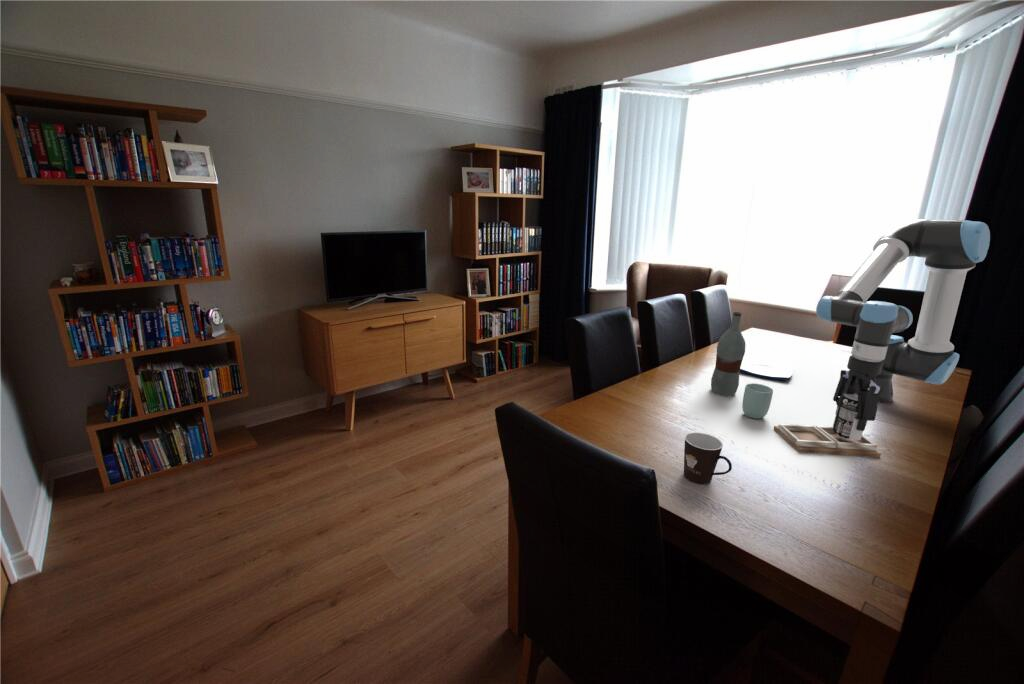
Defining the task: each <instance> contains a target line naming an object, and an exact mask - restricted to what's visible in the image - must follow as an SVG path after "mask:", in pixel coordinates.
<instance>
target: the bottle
mask: <svg viewBox="0 0 1024 684" xmlns="http://www.w3.org/2000/svg"><path fill="white" fill-rule="evenodd" d="M732 314H733V315H732V318H731V324H730V327H729V328H728V329H727V330H726V331H725V332H724V333H723V334H722V335H721V336H720V338H719V340H718V342H717V346H716V355H715V367H714V370H713V373H712V377H711V379H710V389H711V392H712V393H713V394H716V395H719V396H723V397H734V396H735V395H736V393H737V391H738V390H739V388H738V387H739V385H740V372H741V371H740V367H741V364H742V360H743V357H745V354H746V341H745V338H744V336H743V333H742V332H741V329H740V323H741V317H742V312H740V311H733V313H732Z"/></svg>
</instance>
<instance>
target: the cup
mask: <svg viewBox="0 0 1024 684" xmlns="http://www.w3.org/2000/svg"><path fill="white" fill-rule="evenodd" d="M773 393H774V390H773V388H772V387H769V386H767V385H764V384H761V383H756V382H755V383H754V382H753V383H747V384H746V385H745V387H744V391H743V396H742V404H741V405H742V407H741V408H742V413H743V414H744V415H745V416H746V417H749V418H751V419H755V420H758V419H759V420H760V419H763V418H765V417H766V416H767V415H768V412H769V410H770V407H771V403H772V399H773Z"/></svg>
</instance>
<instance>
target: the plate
mask: <svg viewBox="0 0 1024 684" xmlns="http://www.w3.org/2000/svg"><path fill="white" fill-rule="evenodd" d="M739 372H742V373H745V374H748V375H749V376H750V375H751V376H754V377H758V378H763V379H769V380H788V379H790V378H791V377H792V376H793V369H792V365H790V364H781V363H780V364H779V363H774V362H767V361H763V360H757V359H754V358H750V357H745V356H744V357H743V360H742V364H741V367H740V371H739Z"/></svg>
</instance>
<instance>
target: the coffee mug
mask: <svg viewBox="0 0 1024 684" xmlns="http://www.w3.org/2000/svg"><path fill="white" fill-rule="evenodd" d="M723 447H724V444H723V442H722V440H720V439H719V438H718V437H715V436H714V435H711V434H707V433H703V432H689V433H686V434H685V435H684V454H683V455H684V456H683V458H684V459H683V476H684V478H685V479H686V480H687V481H689V482H691V483H693V484H696V485H709V484H710V483H711V482H712V479H713V476H721V475H722V476H724V475H726V474H729V473H730V472H731V471H732V468H733V465H732V462H731V460H730V459H729V458H727V456H724V455H721V452H722V449H723ZM720 459H722V460H724V461H726V462H727V465H728V469H727V470H725V471H721V472H719V471H718V472H715V470H716V467H717V464H718V461H719V460H720Z"/></svg>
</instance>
